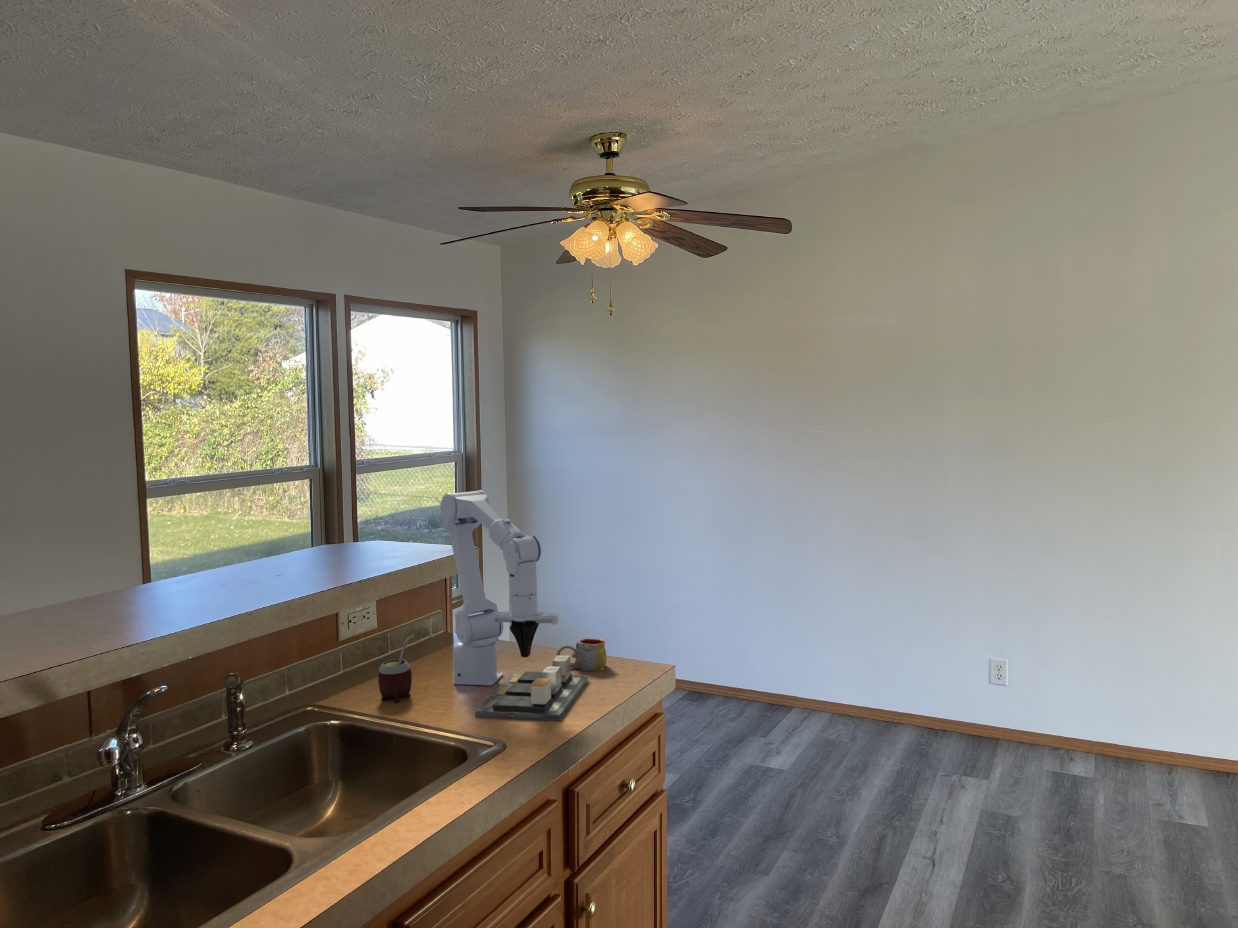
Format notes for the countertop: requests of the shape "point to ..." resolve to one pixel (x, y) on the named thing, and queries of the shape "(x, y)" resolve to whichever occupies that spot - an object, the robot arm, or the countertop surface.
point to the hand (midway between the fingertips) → (525, 655)
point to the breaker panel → (517, 694)
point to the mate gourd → (395, 678)
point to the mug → (588, 655)
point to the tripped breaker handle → (540, 691)
